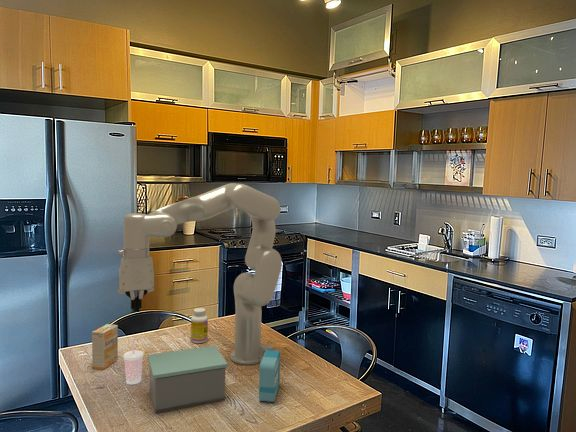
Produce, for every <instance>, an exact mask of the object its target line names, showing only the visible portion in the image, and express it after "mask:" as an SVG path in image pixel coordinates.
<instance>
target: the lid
mask: <svg viewBox="0 0 576 432" xmlns="http://www.w3.org/2000/svg"><path fill="white" fill-rule="evenodd" d="M147 361H148V364H149V365H148V366H149V370H150V369H151V372H152V376H153V379H156V378H163V377H169V376H175V375H181V374H188V373H194V372H200V371H206V370H212V369H219V368H225V369H226V368H228V367H229V366H228V365H229V364H228V362H227V361H226V359H225V358H224V356H223V355H222V353H221V352H220V350H219V348H218V347H217V346H216V345H209V346H203V347H193V348H188V349H179V350H173V351H165V352H159V353H151V354H147Z"/></svg>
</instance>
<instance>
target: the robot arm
mask: <svg viewBox="0 0 576 432" xmlns="http://www.w3.org/2000/svg"><path fill="white" fill-rule="evenodd" d="M231 209H236V210H237V209H238V210H241V211H243V212H245V213H246V214H247V215H248V216H249V219H250V221H251V224H252V225H251V226H252V232H251V235H250V239H249V243H248V246H247V250H246V254H245V256H244V263H245V266H247V267H248V268H249V269H250V270H252V271H254V273H253V272H243V273H240V274H239V275H238V276H236V278H235V280H234V283H233V295H234V305H235V307H234V309H235V315H234V316H235V318H234V322H235V324H234V350H233V351H232V352H231V353H230V356H229V357H230V360H231V361H232V362H234V363H235V364H239V365H255V364H258V363H259V364H260V363H261V360H262V358H263V356H264V354H265V351H266V350H274V346H273V345H271V344H270V345H268V344H267V343H265V344H262V343H261V341H262V339H261V338H262V307H263V306H266V305H268V304H269V303H270V302H271V301H272V299H273V297H274V295H275V291H276V288H277V284H278V281H279V279H280V274H281V270H282V265H283V262H282V261H283V260H282V257H281V254H280V253H279V251H277V250H276V249H275V248H273V247H274V242H275V239H276V230H277V229H276V223H275V220H276V219H278V217H279V216H280V213H281V205H280V202H279V201H278V200H277V199H276V198H275V197H274V196H271V195H269V194H266V193H264V192H262V191H260V190H258V189H255V188H254V187H251V186H249V185H246V184H243V183H235V182H233V183H232V182H230V183H227V184H224V185H221V186H219V187H216V188H213V189H211V190H209V191H206V192H204V193H201V194H199V195H196V196H192V197H189V198H186V199H183V200H181V201H177V202H174V203H171V204H168V205H165V206H163V207H160V208H158V209H156V210H153V211H151V212H150V213H148V214H146V213H139V212H138V213H136V212H135V213H128V214H125V216H124V218H123V247H122V249H120V250H118V255H121V256H123V257H121V259H120V263H119V272H118V273H119V274H118V286H119V287H118V290H117V292H118V294H119V295H125V296H127V297H128V298H130V309H131V310H132V311H133V313H136V312H137V313H139V312H140V310H141V309H142V307H143V305H142V304H143V303H142V301H143V298H144V297H145V296H146V295H147V294H149V293H151V292H154V291H155V272H154V264H153V263H154V262H153V261H154V260H153V257H152V256H150V237H153V238H154V237H155V238H168V237H171V236H173V235H174V233H176V231H177V228H178V225H181V224H184V223H189V222H200V221H202V222H203V221H206V220H209V219H211V218H213V217H215V216H218V215H220V214H222V213H225V212H227V211H230V210H231ZM136 291H137V296H135V292H136Z"/></svg>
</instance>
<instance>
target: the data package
mask: <svg viewBox="0 0 576 432" xmlns="http://www.w3.org/2000/svg"><path fill="white" fill-rule="evenodd" d="M280 372H281V350H274V349H273V350H266V351H265V353H264V356H263V358H262V360H261V362H259V374H258V375H259V378H258V379H259V380H258V381H259V382H258V401H260V402H269V403H274V402H275V400H276V397H277V394H278V390H279V388H280V380H281V379H280V377H281V376H280V374H281V373H280Z"/></svg>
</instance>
